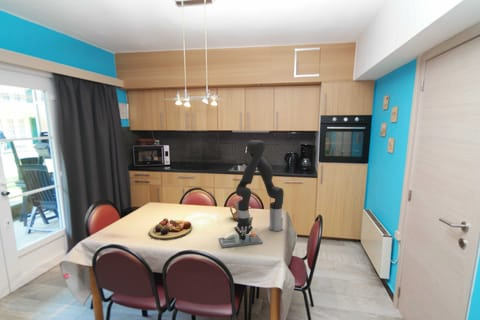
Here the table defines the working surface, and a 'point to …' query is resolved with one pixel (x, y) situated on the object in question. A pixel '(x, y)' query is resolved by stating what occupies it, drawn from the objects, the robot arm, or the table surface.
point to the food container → (250, 221)
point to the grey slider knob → (236, 238)
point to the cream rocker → (229, 235)
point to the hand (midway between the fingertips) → (243, 240)
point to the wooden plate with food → (170, 229)
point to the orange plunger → (253, 234)
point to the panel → (240, 241)
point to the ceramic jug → (235, 215)
